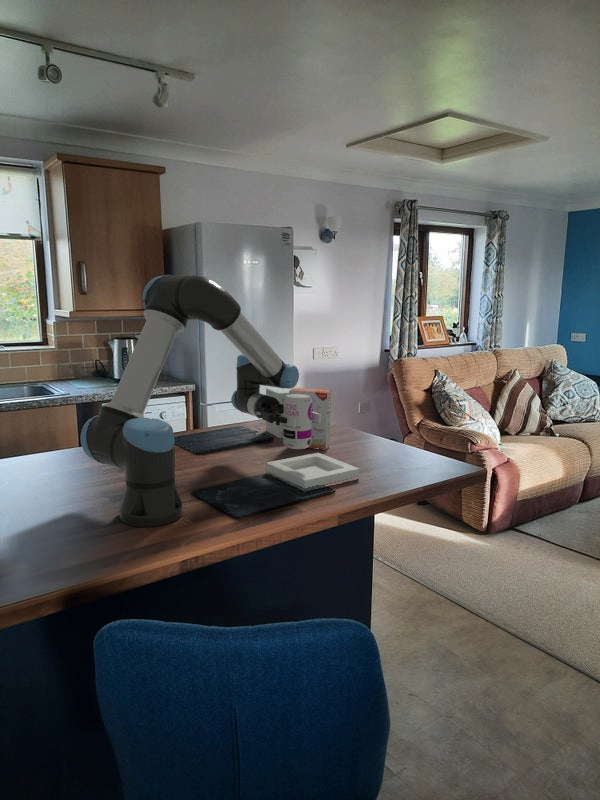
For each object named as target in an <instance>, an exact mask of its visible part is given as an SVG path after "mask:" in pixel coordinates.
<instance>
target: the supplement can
mask: <svg viewBox="0 0 600 800" xmlns="http://www.w3.org/2000/svg"><path fill="white" fill-rule="evenodd" d="M284 414H286V415H289V416H292V417H295V418H296V427H295V428H294V427H291V426H288V425H285V424H284V429H283V438H282V440H283V441H282V443H283V445H284V446H285V447H286V448H288V449H293V450H302V449H303V450H304V449H306V448H308V447H309V446H310V445H311V437H312V400H311V398H310V395H307V394H288V395H286V398H285V400H284Z"/></svg>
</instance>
